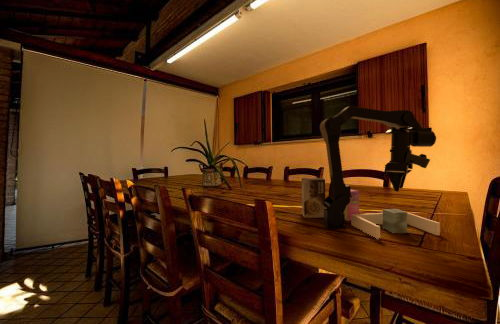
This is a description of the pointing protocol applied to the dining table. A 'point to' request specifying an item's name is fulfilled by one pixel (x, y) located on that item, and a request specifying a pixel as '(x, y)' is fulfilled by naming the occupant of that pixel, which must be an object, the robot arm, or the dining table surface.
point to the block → (395, 220)
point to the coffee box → (313, 197)
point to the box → (352, 205)
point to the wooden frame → (371, 219)
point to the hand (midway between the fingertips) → (398, 189)
